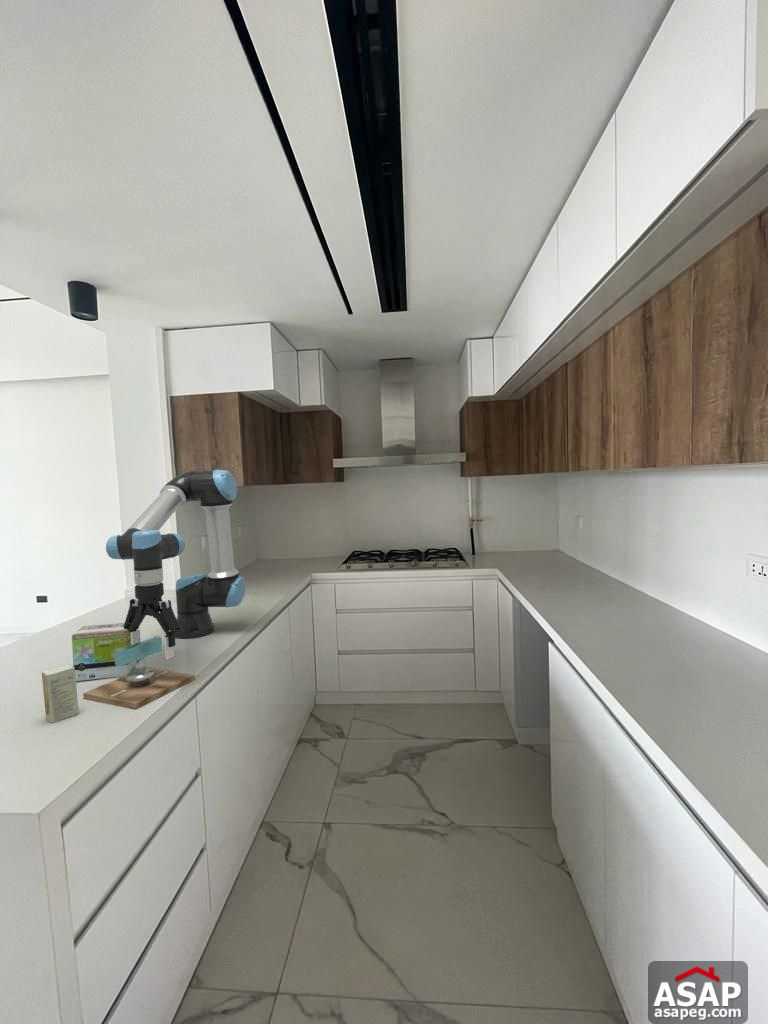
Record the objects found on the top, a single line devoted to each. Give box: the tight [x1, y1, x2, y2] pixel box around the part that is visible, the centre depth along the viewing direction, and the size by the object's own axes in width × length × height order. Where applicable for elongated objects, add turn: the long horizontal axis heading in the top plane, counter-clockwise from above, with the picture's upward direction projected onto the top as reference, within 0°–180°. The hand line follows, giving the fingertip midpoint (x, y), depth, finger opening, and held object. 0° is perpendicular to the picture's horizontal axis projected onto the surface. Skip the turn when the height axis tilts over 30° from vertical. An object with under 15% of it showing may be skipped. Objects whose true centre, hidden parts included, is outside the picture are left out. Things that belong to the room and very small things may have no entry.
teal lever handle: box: [114, 634, 163, 682], centre depth 133 cm, size 7×13×10 cm, turn 155°
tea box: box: [71, 622, 135, 683], centre depth 145 cm, size 15×10×15 cm, turn 105°
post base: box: [82, 666, 196, 710], centre depth 133 cm, size 20×20×3 cm
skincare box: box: [41, 663, 80, 724], centre depth 117 cm, size 6×4×12 cm
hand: (153, 655), depth 137 cm, fingers open, 13 cm apart
